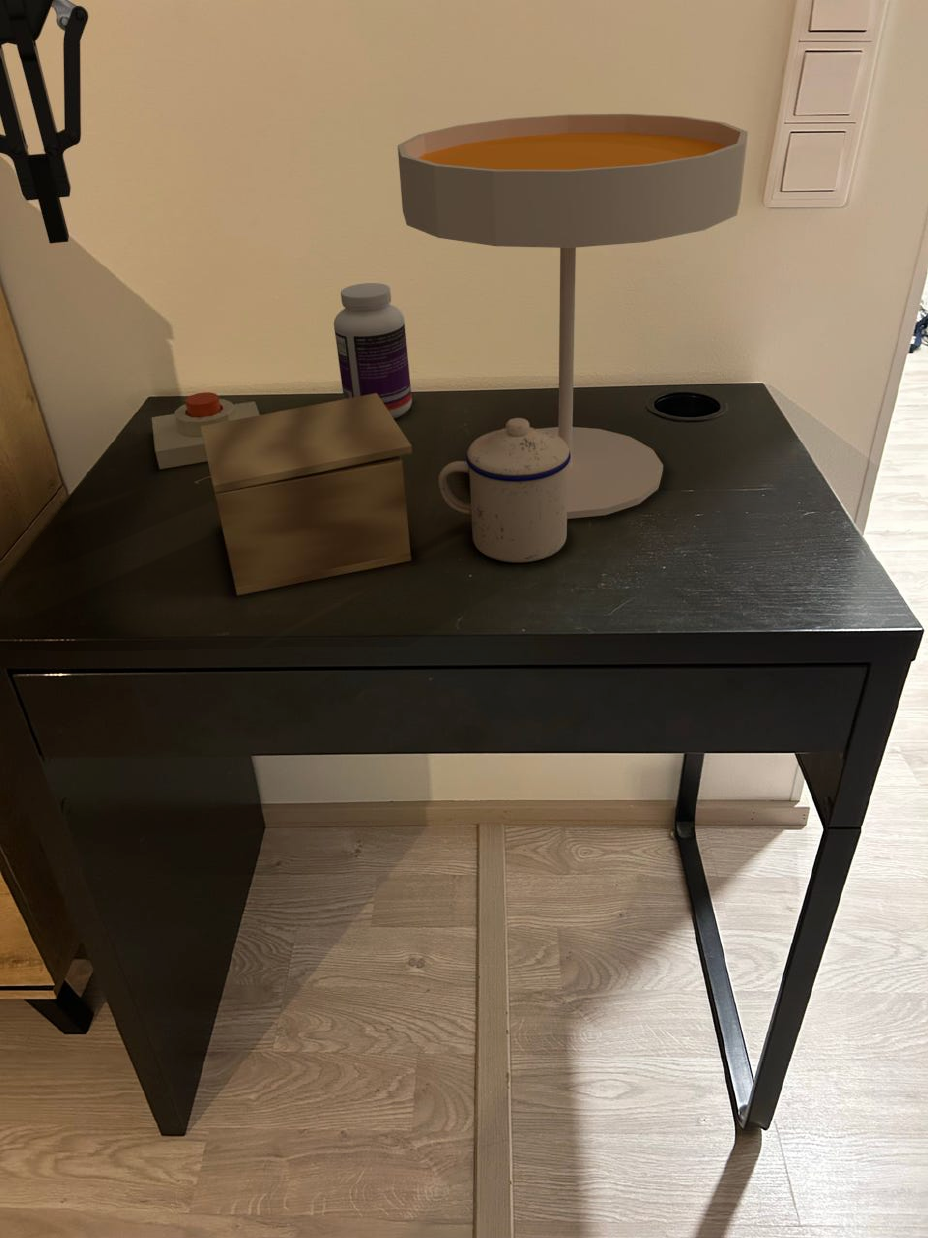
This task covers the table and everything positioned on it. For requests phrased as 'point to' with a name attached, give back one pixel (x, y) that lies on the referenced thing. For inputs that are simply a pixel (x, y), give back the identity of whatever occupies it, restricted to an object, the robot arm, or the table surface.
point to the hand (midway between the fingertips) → (59, 238)
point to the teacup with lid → (514, 492)
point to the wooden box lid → (301, 442)
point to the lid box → (315, 525)
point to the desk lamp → (577, 228)
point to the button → (203, 404)
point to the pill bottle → (373, 347)
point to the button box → (191, 433)
